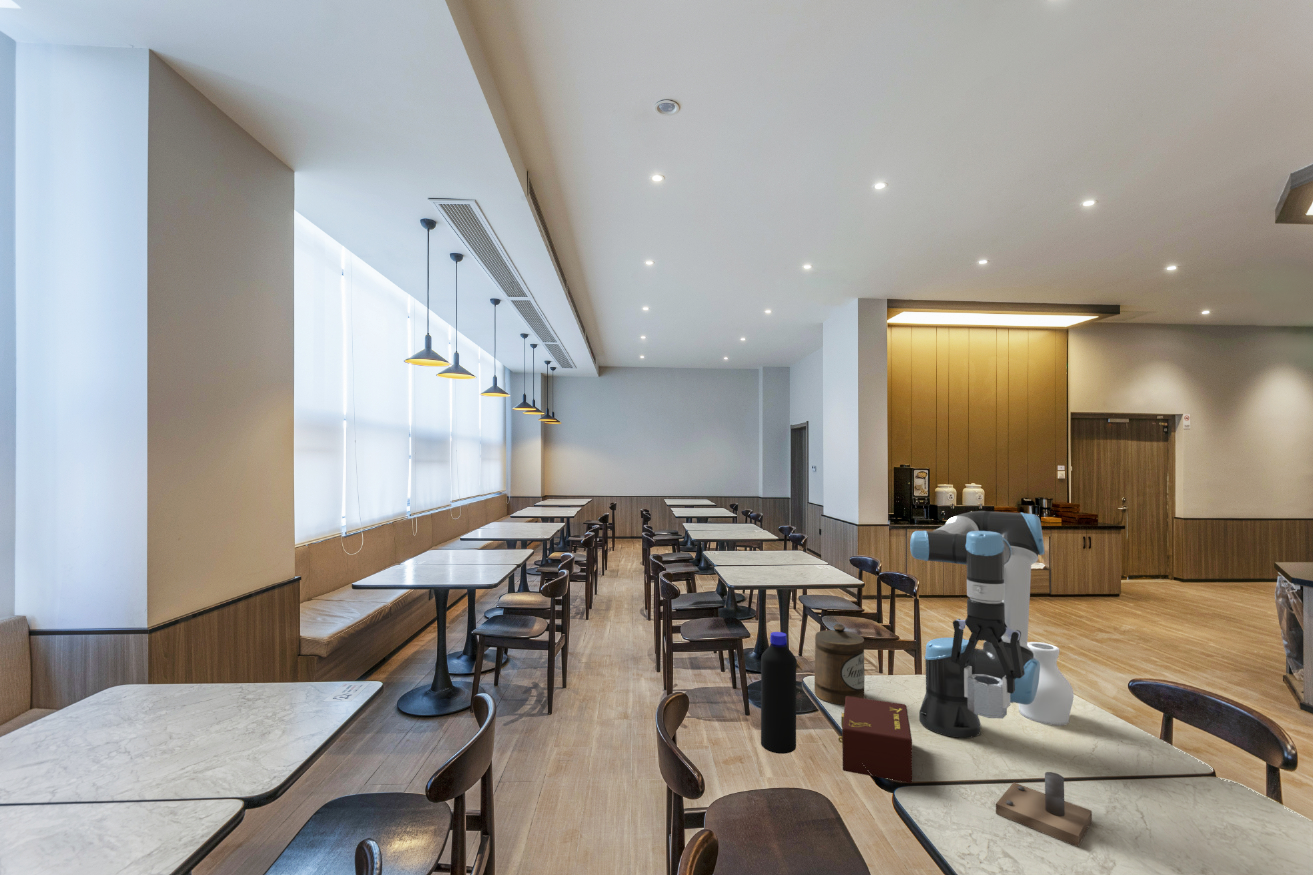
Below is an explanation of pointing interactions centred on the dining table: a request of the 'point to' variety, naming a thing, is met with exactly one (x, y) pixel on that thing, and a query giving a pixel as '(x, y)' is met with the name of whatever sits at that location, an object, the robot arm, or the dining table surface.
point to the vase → (1049, 689)
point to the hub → (985, 696)
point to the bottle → (778, 696)
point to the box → (876, 739)
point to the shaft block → (1046, 810)
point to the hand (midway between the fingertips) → (986, 700)
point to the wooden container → (839, 665)
